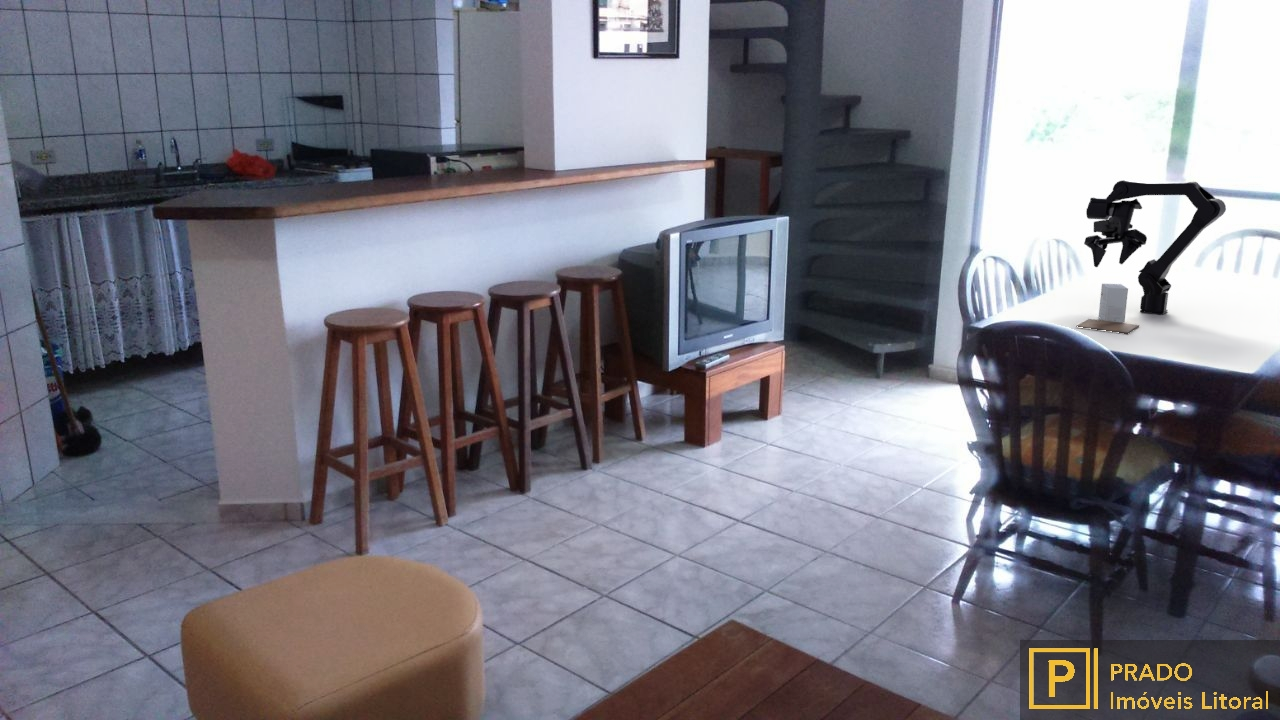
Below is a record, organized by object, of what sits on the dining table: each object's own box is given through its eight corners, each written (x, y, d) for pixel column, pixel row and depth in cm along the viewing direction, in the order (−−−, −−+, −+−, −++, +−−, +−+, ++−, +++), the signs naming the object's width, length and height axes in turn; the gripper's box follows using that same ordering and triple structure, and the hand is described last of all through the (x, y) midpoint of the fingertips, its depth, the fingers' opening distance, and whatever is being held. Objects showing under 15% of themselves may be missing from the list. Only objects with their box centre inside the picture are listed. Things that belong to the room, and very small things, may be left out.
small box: (1124, 323, 294) (1128, 288, 291) (1104, 322, 295) (1108, 287, 292) (1117, 317, 301) (1121, 283, 298) (1097, 317, 302) (1101, 283, 300)
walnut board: (1139, 327, 289) (1139, 325, 289) (1127, 334, 280) (1127, 332, 280) (1088, 320, 297) (1089, 318, 297) (1076, 327, 289) (1076, 325, 288)
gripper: (1078, 213, 314) (1065, 257, 311) (1129, 203, 297) (1115, 251, 294) (1102, 227, 318) (1089, 272, 315) (1153, 219, 301) (1140, 266, 298)
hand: (1107, 265), depth 306 cm, fingers open, 9 cm apart
